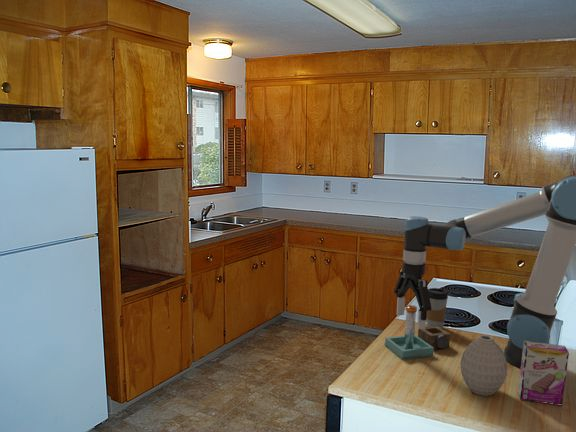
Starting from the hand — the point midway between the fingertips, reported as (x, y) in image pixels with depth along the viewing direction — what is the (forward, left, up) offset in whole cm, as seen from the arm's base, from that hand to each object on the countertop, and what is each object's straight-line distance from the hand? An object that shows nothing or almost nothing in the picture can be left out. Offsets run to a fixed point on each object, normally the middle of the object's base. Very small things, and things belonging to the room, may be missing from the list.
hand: (410, 321), depth 177 cm
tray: (0, 0, -11) cm, 11 cm away
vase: (-31, -6, -11) cm, 33 cm away
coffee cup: (+17, -22, -11) cm, 30 cm away
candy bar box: (-40, -19, -11) cm, 46 cm away
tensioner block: (+3, -12, -11) cm, 16 cm away
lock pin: (0, 0, -10) cm, 10 cm away
